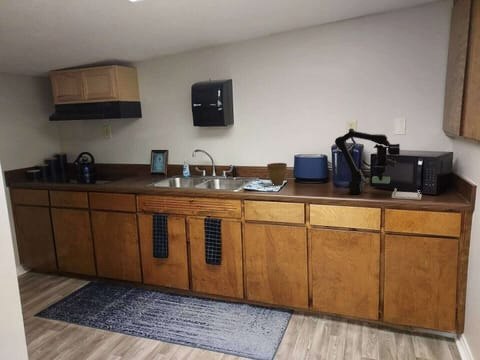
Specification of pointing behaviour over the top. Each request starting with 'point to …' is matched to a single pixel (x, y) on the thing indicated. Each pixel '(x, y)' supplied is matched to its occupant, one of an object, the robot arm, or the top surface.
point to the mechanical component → (364, 182)
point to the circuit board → (376, 180)
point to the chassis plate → (406, 195)
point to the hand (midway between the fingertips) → (381, 179)
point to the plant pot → (277, 172)
